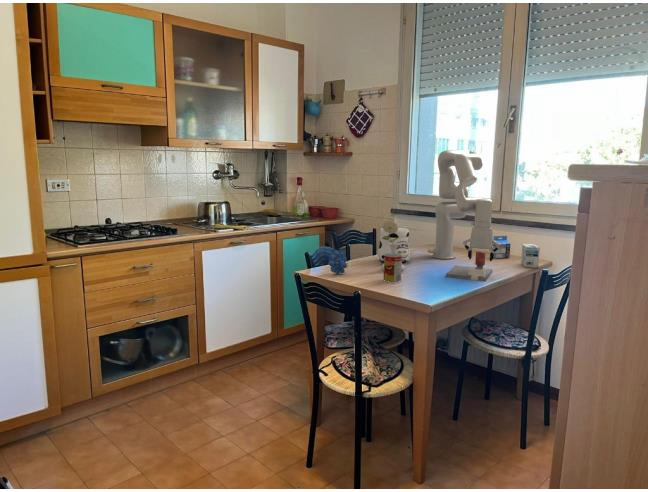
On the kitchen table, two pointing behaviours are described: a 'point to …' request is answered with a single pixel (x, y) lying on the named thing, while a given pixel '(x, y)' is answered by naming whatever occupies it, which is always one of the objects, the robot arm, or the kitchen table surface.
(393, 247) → the flower in vase
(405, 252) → the milk container
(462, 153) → the robot arm
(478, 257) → the reddish rounded cylinder
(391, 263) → the canned food
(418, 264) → the kitchen table surface
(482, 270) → the block
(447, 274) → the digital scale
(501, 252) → the label tape cartridge
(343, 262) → the grapes
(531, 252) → the light bulb box
